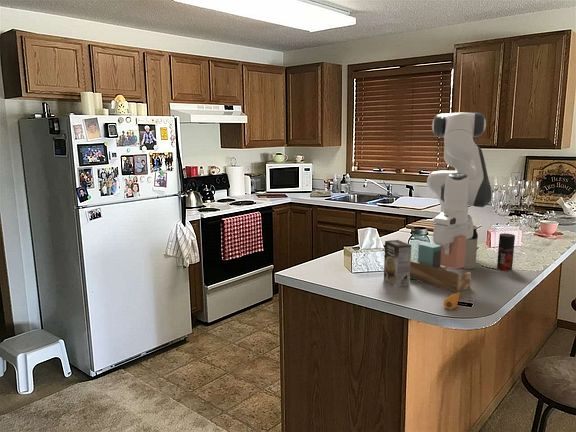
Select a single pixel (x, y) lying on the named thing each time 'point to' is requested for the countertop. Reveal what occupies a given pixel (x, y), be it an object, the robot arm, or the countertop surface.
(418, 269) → the brown wooden box
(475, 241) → the travel mug
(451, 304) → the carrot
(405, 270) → the coffee box
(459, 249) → the salmon pink block
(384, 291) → the countertop surface
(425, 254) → the teal rectangular block
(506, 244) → the deodorant
